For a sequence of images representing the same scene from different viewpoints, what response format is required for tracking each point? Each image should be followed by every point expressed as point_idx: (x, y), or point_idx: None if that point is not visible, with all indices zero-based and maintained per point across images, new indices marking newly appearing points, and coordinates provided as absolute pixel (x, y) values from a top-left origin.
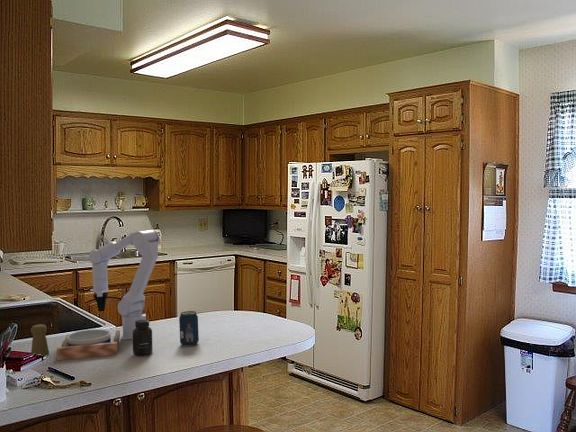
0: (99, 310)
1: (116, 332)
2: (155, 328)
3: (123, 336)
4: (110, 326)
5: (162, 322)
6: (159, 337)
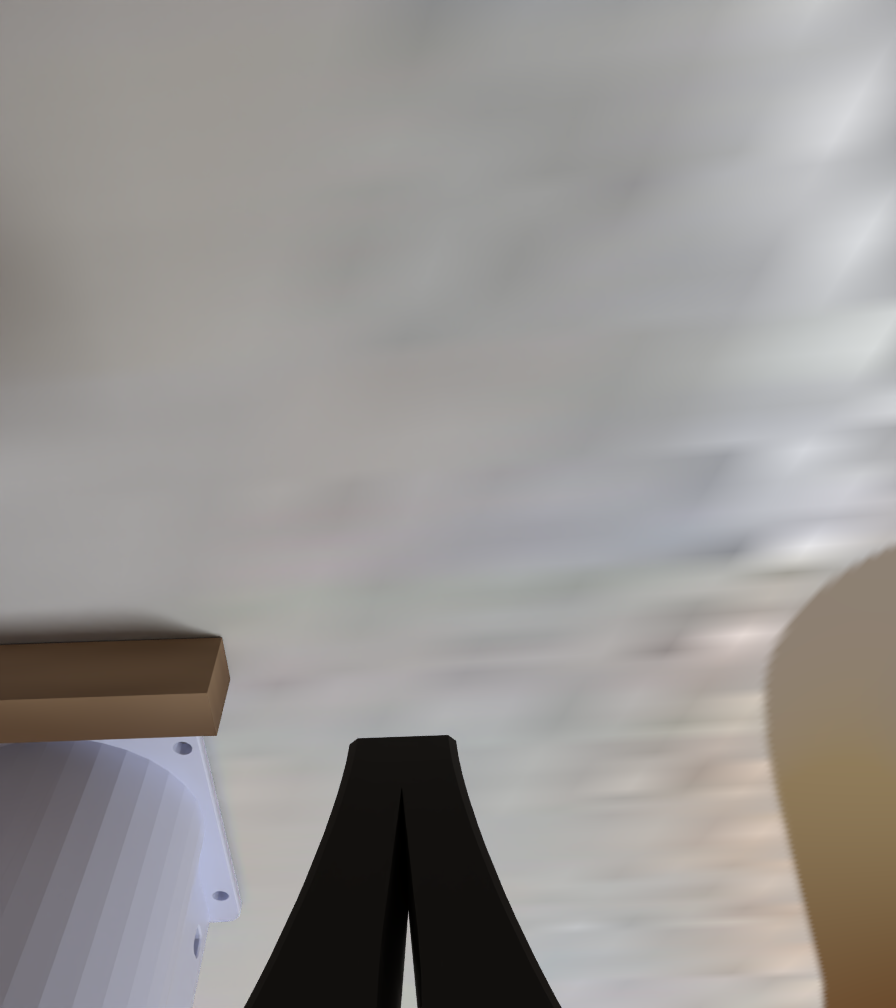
0: (347, 774)
1: (61, 709)
2: None
3: (7, 749)
4: (877, 524)
5: (702, 990)
6: None
